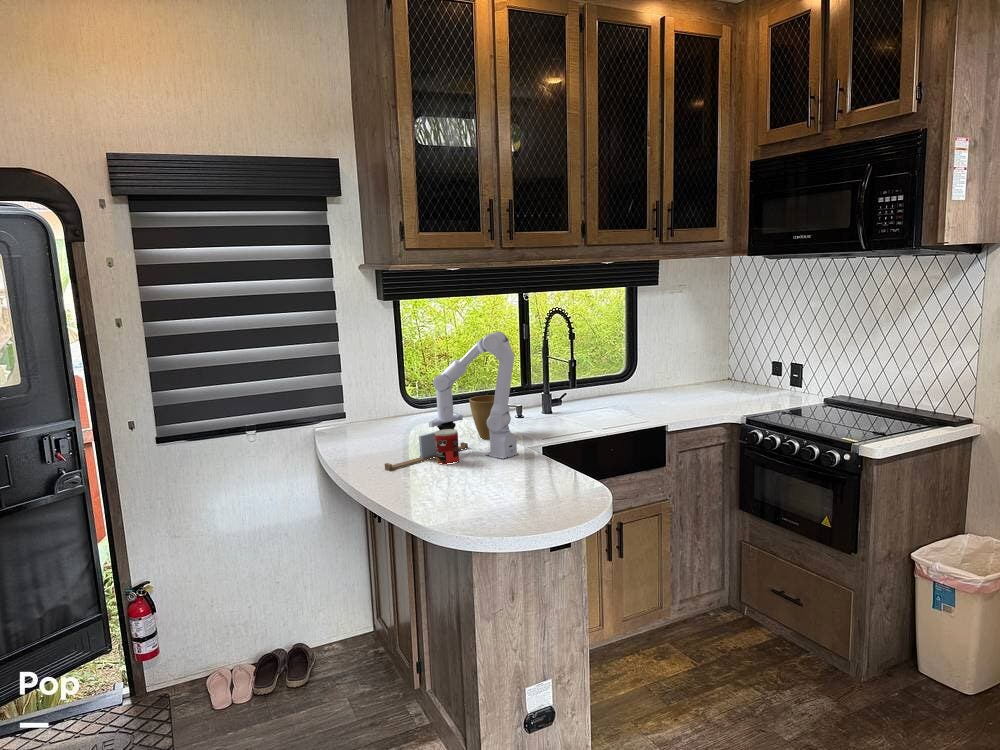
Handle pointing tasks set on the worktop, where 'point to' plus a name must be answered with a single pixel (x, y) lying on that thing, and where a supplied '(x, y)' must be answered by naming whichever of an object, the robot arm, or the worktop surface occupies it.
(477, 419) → the plant pot
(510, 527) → the worktop surface
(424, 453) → the screen panel
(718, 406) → the worktop surface
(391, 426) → the worktop surface
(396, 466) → the rail
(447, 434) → the canned food
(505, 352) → the robot arm
